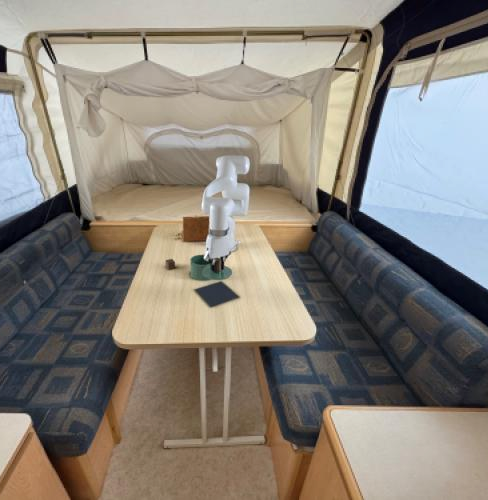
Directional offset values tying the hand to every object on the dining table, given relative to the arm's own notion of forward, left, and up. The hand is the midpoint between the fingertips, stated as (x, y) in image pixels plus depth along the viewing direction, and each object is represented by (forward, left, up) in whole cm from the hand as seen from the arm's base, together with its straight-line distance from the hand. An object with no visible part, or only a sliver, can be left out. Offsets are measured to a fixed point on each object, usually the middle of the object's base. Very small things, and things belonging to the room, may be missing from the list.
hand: (217, 269), depth 119 cm
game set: (-23, -66, -13) cm, 71 cm away
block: (+9, -34, -13) cm, 38 cm away
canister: (-3, -19, -13) cm, 23 cm away
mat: (0, 0, -13) cm, 13 cm away
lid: (0, 0, -1) cm, 1 cm away
